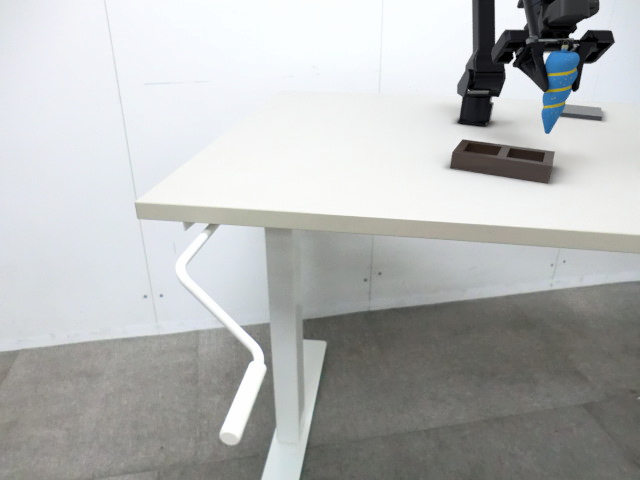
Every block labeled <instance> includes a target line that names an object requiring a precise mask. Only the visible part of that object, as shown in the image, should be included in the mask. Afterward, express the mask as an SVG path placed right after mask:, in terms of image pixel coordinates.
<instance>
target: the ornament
mask: <svg viewBox="0 0 640 480" xmlns="http://www.w3.org/2000/svg"><path fill="white" fill-rule="evenodd" d="M564 42H565V41H564ZM564 42H563V43H564ZM567 50H568V45H564V44H563V45H562V48H561V51H553V52H551V53H548V54H549V55H547V58H546V59H545V61H544V63H545V67H546V72H547V76H548V82H549V90H548V91H547V92H543V94H542V109H541V113H540V114H541V115H540V116H541V120H542V121H541V122H542V125H543V130H544V133H545V134H546V135H549V134H550V133H551V132H552V130H553V129H554V127H555V125H556V123H557V122H558V120H559V118H561V116H560V115H561V113H562V112H563V110H564V107H565V104H566V102H567V100H568V98H569V97H570V95H571V93H572V92H573V91H572V84H573V82H574V81H575V79H576V77H577V73H578V72H577V69H576V67H577V65H578V63H579V55H578V54H577V53H575V52H570V51H567Z"/></svg>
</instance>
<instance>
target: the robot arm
mask: <svg viewBox="0 0 640 480" xmlns="http://www.w3.org/2000/svg"><path fill="white" fill-rule="evenodd" d="M471 3H472V4H471V15H472V17H471V19H472V21H471V22H472V24H471V27H472V28H471V29H472V53H471V55H470V57H469V58H468V60H467V62H466V64H465V65H464V67H465V69H464V72H463V74H462V76H461V77H460V79H459V81H458V82H457V84H456V94H457V95H458V96H460V97H461V105H460V110H459V111H460V112H459V118H458V119H457V122H456V123H458V124H462V125H463V124H465V125H473V126H481V127H486V126H487V125H488V124H489V123H490V122H491V120H492V116H493V112H494V111H493V110H494V105H495V103H494V102H493V98H500V96H501V94H502V90H503V88H504V85H505V82H506V79H507V77H506V67H505V65H509V64H510V63H511V62H512V61H513V60H514V61H513V62H512V64H511V66H512V67H513V68H515V69H516V68H517V69H518V70H519V71H520V72H522V73H523V74H524V75H526V77H528V78H529V79H530V81H532V82H533V83H534V85H536V86H537V88H539V89H540V90H541V91H542V92H543V93H544V92H547V91H548V90H549V82H548V76H547V72H546V67H545V59H544V55H545V54H550V53H551V52H553V51H561V48H562V45H563V44H564V45H568V50H567V51H570V52H575V53H577V54H578V55H579V63H578V65H577V67H576V69H577V72H578V73H577V77H576V79H575V81H574V82H573V84H572V91H571V92H573V93H576V92H577V91H579V89H580V86H581V81H582V80H581V79H582V75H583V69H584V65H592V64H595V63H596V62H598V61H599V59H601V57H603V55H604V54H605V53H607V51H608V50H610V48H611V47H612V46H613V45H614V44H615V43H616V39H615V37H614V33H613V30H612V29H611V30H609V29H587V30H586V31H585V33H584V34H583V35H582V36H581V37H580V38H579V39H575V38H574V37H570V35H571V34H574V33H575V32H576V31H577V30H578V25H577V24H579V23H580V22H582V21H584V20H588V19H590V18H592V17H594V16H596V15H597V14H598V13H599V11H600V6H601V5H600V0H518V1H517V4H516V8H517V9H524V14H525V19H526V24H525V25H523V29H519V28H518V29H515V28H514V29H506V28H505V29H504V30H503V32H502V33H501V34H500V36H499V38H498V39H497V40H496V0H471ZM564 41H565V42H564ZM563 42H564V43H563Z"/></svg>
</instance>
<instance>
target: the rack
mask: <svg viewBox="0 0 640 480" xmlns="http://www.w3.org/2000/svg"><path fill="white" fill-rule="evenodd" d="M555 152H556V151H554V150H548V149H547V150H546V149H540V148H532V147H523V146H516V145H508V144H502V143H495V142H487V141H479V140H472V139H471V140H470V139H465V138H464V139H463V138H462V139H461V140H460V142H459V143H458V144H457V146H455V148H454V149H453V151H451V159H450V166H449V168H450V169H454V170H460V171H467V172H474V173H480V174H486V175H491V176H492V175H493V176H498V177H505V178H510V179H519V180H524V181H531V182H537V183H544V184H548V183H549V182H550V177H551V174H552V173H551V172H552V169H553V164H554V159H555Z"/></svg>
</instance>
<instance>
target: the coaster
mask: <svg viewBox="0 0 640 480" xmlns="http://www.w3.org/2000/svg"><path fill="white" fill-rule="evenodd" d="M560 117H562V118H573V119H582V120H589V121H590V120H591V121H600V122H601V121H602V119H603V112H602V107H599V106H589V105H580V104H579V105H577V104H567V103H565V107H564V110H563V112H562V113H561V115H560Z"/></svg>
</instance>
